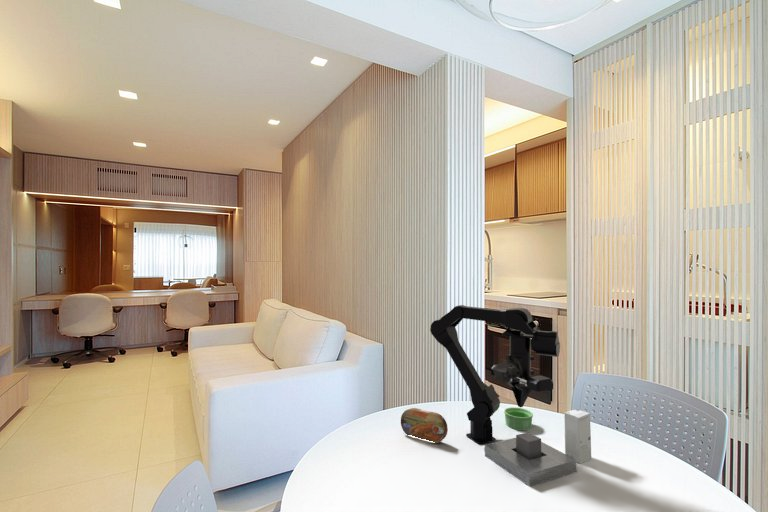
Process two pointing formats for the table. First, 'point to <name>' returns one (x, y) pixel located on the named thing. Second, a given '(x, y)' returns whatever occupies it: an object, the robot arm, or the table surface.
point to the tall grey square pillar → (528, 445)
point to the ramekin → (518, 418)
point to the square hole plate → (530, 462)
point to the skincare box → (578, 435)
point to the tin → (424, 424)
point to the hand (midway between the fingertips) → (520, 406)
